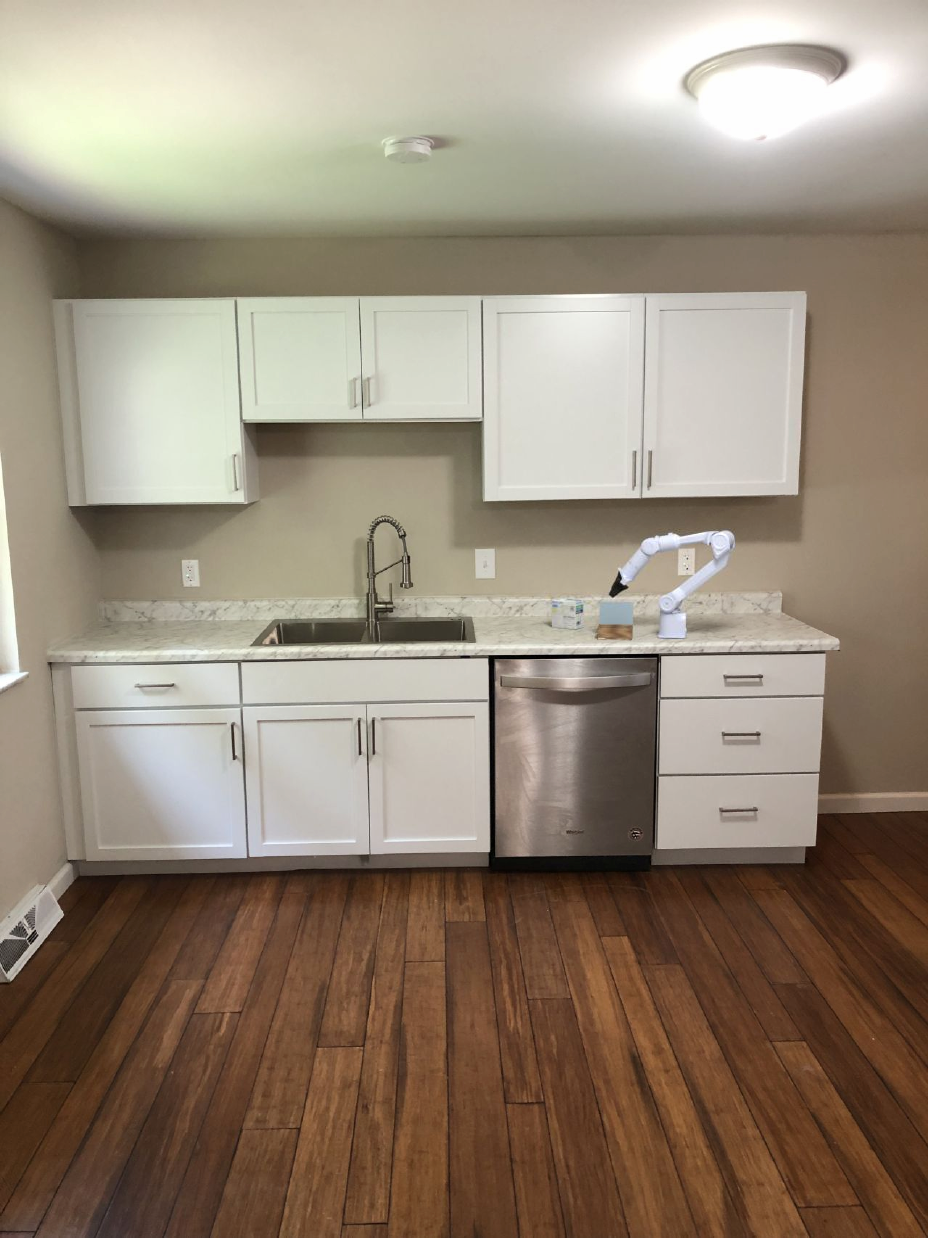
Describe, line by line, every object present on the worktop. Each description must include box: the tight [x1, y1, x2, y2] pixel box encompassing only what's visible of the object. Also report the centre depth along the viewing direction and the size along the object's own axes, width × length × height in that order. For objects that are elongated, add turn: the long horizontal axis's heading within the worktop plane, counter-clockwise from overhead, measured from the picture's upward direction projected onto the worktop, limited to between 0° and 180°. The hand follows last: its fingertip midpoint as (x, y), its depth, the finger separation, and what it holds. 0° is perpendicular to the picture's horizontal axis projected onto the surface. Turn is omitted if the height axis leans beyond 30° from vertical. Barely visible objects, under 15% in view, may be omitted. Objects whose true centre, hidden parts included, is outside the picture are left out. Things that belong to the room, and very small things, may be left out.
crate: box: [596, 623, 634, 641], centre depth 334 cm, size 12×8×4 cm, turn 78°
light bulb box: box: [551, 597, 585, 630], centre depth 356 cm, size 11×7×11 cm, turn 56°
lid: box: [598, 600, 634, 625], centre depth 338 cm, size 12×8×1 cm
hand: (611, 592), depth 342 cm, fingers open, 7 cm apart
